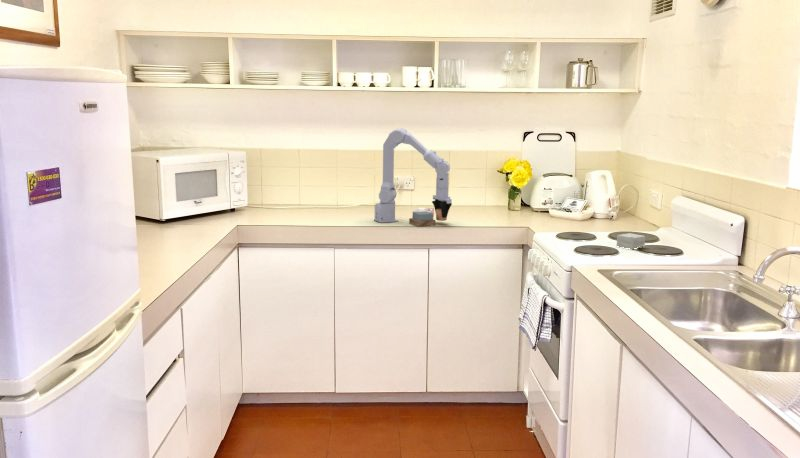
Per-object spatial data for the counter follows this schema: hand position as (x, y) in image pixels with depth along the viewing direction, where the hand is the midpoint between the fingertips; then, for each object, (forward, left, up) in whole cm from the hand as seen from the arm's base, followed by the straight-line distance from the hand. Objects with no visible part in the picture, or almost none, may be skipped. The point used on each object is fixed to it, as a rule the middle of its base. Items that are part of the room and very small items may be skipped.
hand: (441, 216), depth 315 cm
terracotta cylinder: (0, 0, -2) cm, 2 cm away
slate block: (-9, +2, -1) cm, 9 cm away
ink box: (+1, +19, -1) cm, 19 cm away
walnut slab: (-9, +2, -4) cm, 10 cm away
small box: (+45, -74, -4) cm, 87 cm away
